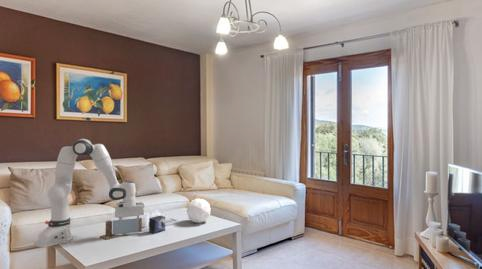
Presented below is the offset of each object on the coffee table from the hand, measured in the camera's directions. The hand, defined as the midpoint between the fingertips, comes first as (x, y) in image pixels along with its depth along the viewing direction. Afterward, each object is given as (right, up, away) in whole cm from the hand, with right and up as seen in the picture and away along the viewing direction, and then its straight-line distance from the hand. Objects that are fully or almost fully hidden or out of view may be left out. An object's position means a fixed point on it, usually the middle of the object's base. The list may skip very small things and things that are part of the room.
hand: (129, 222), depth 240 cm
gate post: (-12, -8, -7) cm, 16 cm away
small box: (+19, -8, +6) cm, 21 cm away
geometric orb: (+46, -8, +31) cm, 56 cm away
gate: (-1, -7, -2) cm, 7 cm away
